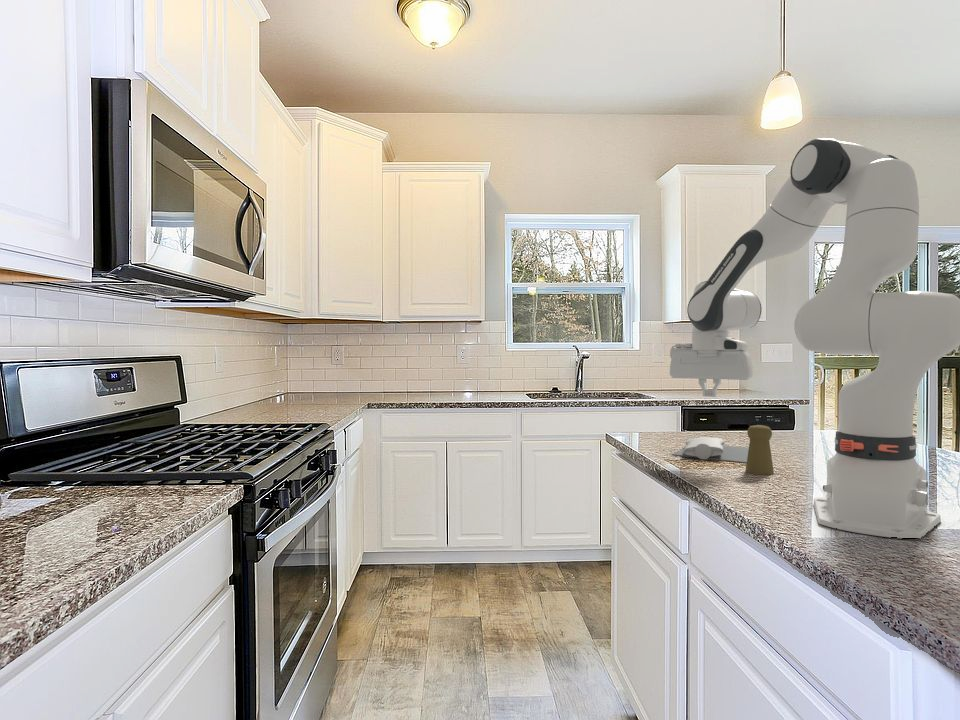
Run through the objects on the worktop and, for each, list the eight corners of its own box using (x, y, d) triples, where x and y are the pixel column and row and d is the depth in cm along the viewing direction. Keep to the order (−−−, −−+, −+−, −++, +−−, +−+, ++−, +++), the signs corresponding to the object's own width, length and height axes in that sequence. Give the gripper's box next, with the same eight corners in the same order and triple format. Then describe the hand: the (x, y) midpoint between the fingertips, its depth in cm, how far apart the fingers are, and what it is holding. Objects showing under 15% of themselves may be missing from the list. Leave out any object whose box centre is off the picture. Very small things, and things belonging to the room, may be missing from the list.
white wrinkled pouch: (681, 443, 158) (685, 433, 178) (682, 459, 157) (686, 447, 178) (724, 443, 154) (724, 432, 174) (725, 459, 153) (725, 446, 174)
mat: (750, 463, 149) (750, 462, 149) (671, 455, 162) (671, 454, 162) (769, 450, 167) (769, 449, 167) (697, 443, 179) (697, 442, 179)
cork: (742, 469, 143) (742, 423, 143) (768, 469, 142) (768, 423, 142) (749, 474, 137) (750, 427, 137) (777, 475, 136) (777, 427, 136)
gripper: (666, 343, 159) (666, 395, 159) (748, 343, 147) (748, 399, 147) (674, 343, 164) (673, 394, 164) (754, 343, 152) (753, 397, 152)
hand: (709, 396), depth 156 cm, fingers closed
